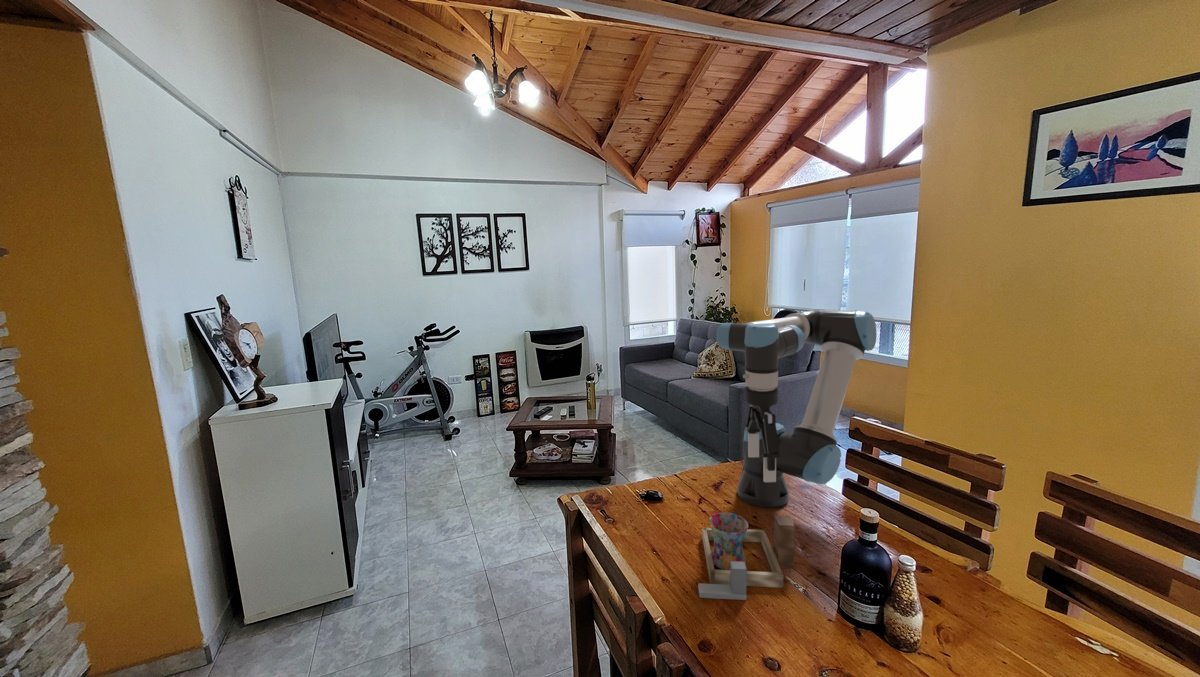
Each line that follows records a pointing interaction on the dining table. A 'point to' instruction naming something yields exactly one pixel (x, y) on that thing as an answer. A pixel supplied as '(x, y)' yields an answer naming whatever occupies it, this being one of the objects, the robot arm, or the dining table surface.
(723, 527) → the mug
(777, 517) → the open square frame
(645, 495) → the dining table surface
